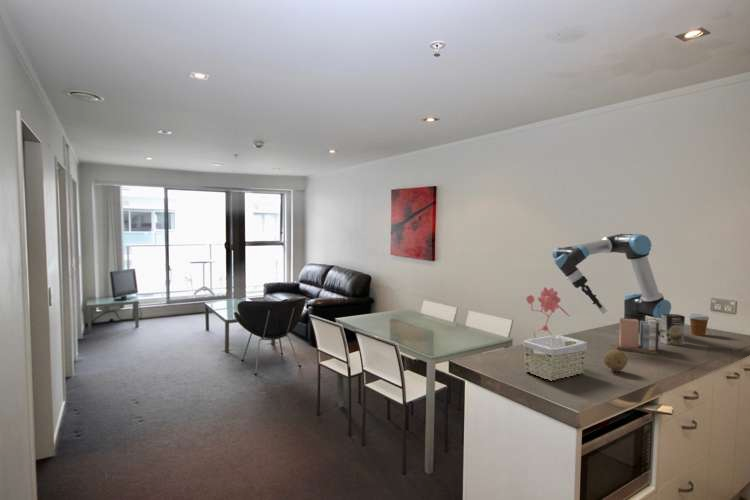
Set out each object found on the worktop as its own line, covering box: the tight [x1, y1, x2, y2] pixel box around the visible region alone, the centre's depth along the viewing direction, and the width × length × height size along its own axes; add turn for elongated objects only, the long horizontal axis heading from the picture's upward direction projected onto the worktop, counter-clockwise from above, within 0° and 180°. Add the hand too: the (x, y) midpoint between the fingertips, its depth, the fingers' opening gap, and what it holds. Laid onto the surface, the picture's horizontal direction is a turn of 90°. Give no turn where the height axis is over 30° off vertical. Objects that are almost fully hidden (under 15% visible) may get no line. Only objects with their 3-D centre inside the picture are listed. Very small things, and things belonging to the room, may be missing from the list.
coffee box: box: [659, 313, 686, 346], centre depth 229 cm, size 9×6×16 cm
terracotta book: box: [618, 317, 640, 348], centre depth 219 cm, size 5×8×14 cm, turn 67°
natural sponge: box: [603, 349, 628, 373], centre depth 182 cm, size 9×9×10 cm
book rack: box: [613, 316, 660, 355], centre depth 218 cm, size 12×18×16 cm, turn 67°
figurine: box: [526, 286, 570, 338], centre depth 203 cm, size 15×26×35 cm, turn 27°
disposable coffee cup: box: [688, 313, 710, 337], centre depth 247 cm, size 10×10×12 cm
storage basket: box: [522, 334, 588, 379], centre depth 180 cm, size 24×16×15 cm
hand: (603, 309), depth 225 cm, fingers open, 13 cm apart
